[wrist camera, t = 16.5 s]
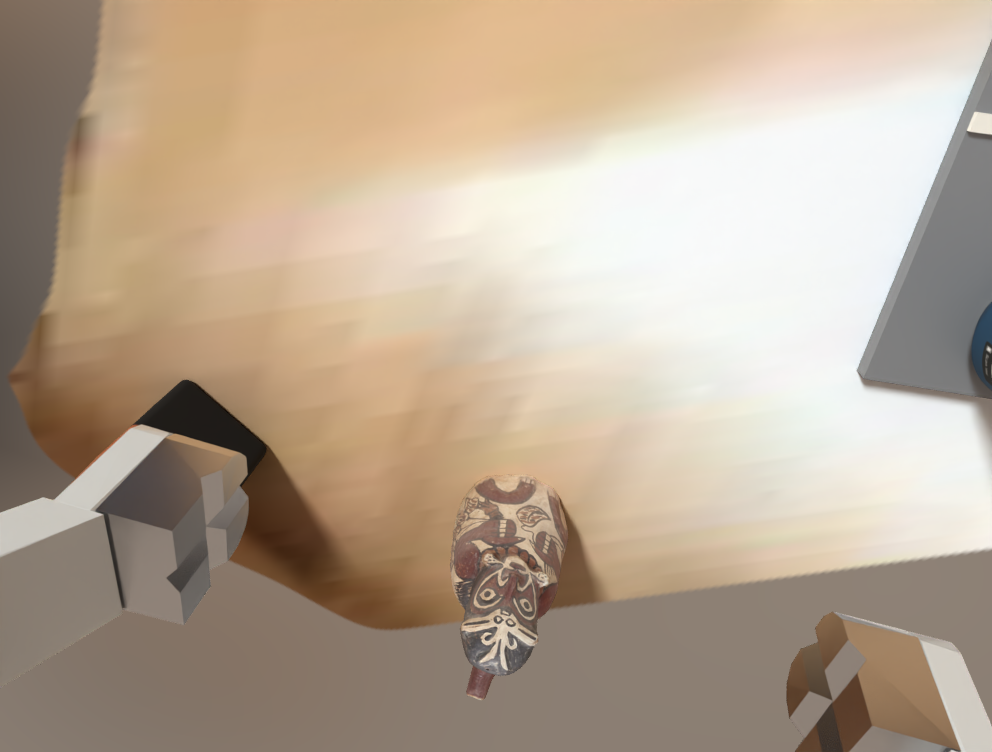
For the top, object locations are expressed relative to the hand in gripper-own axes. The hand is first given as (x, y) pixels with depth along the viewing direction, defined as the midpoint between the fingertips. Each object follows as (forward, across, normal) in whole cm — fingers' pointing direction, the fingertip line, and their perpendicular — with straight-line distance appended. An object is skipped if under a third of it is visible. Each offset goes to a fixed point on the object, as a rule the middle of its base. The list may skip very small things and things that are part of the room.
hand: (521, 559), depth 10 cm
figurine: (+26, 0, +25) cm, 36 cm away
